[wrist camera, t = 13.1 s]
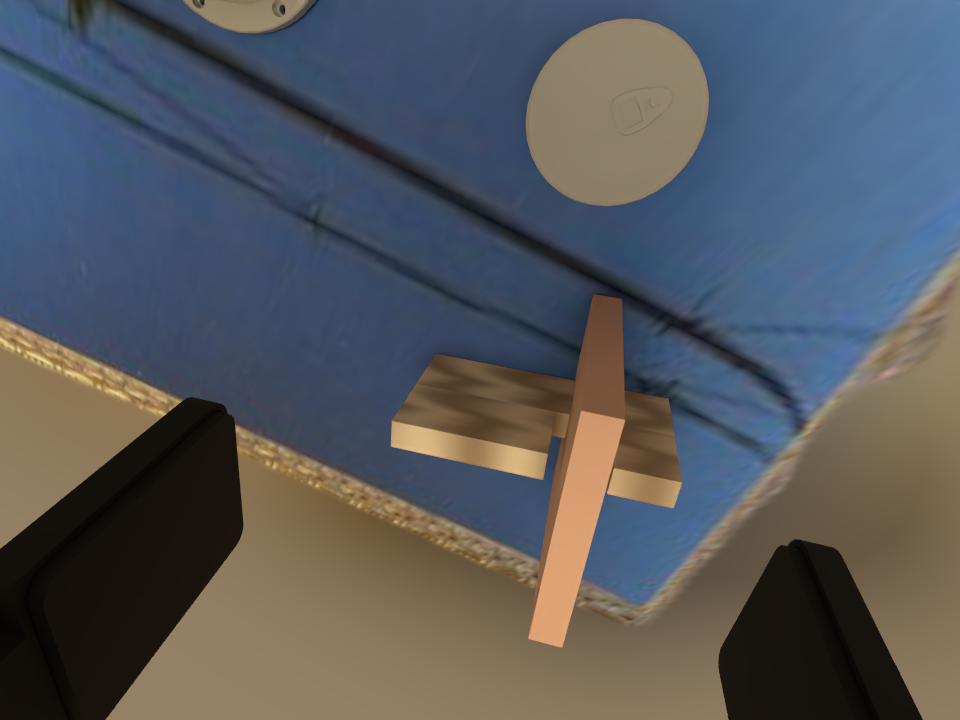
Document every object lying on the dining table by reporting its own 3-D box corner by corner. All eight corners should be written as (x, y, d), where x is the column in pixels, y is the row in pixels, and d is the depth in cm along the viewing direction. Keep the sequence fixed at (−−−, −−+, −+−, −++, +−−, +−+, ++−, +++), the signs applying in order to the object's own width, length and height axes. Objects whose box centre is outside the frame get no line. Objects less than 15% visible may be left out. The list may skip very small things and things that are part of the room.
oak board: (434, 375, 46) (391, 446, 37) (435, 353, 45) (392, 421, 36) (661, 420, 43) (673, 508, 34) (668, 398, 42) (682, 482, 33)
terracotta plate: (554, 472, 47) (528, 638, 33) (593, 293, 40) (581, 410, 26) (578, 477, 47) (562, 647, 33) (621, 298, 39) (625, 419, 25)
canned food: (708, 114, 34) (746, 129, 24) (596, 199, 37) (589, 242, 27) (634, 0, 32) (643, -33, 22) (524, 101, 35) (490, 109, 26)
